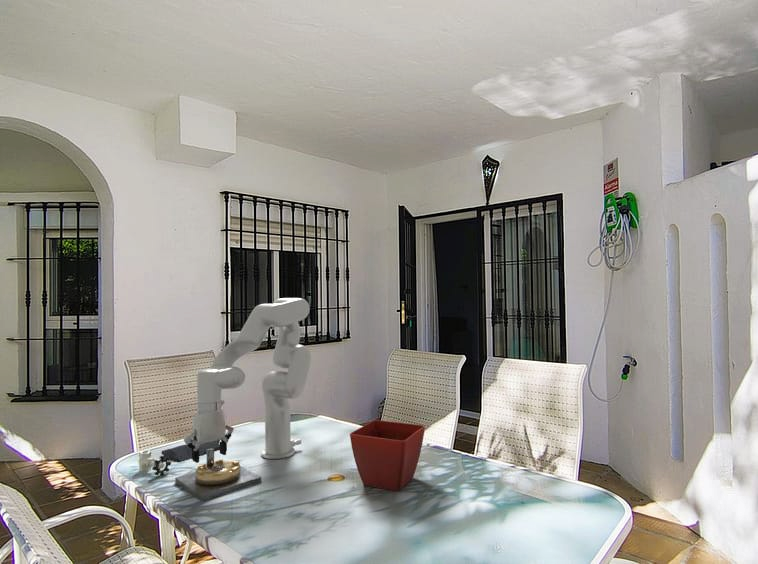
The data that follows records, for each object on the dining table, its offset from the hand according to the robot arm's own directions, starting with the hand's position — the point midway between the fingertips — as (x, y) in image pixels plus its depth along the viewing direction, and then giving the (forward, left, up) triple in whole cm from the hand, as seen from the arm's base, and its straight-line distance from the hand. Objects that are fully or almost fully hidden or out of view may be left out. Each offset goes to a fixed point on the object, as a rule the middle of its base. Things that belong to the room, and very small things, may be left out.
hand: (209, 457), depth 162 cm
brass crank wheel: (0, +6, -5) cm, 7 cm away
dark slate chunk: (-8, -32, -7) cm, 34 cm away
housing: (0, +6, -7) cm, 9 cm away
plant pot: (-39, +46, -7) cm, 61 cm away
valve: (+12, -20, -7) cm, 25 cm away
